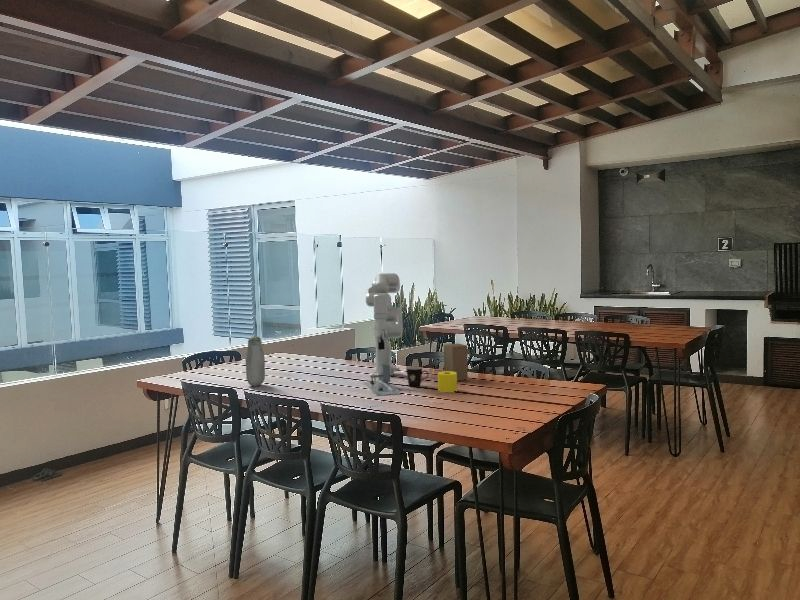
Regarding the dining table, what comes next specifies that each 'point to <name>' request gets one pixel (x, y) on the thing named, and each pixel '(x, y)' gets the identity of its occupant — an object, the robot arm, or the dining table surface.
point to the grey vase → (255, 362)
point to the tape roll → (447, 381)
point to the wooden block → (456, 360)
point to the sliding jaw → (384, 373)
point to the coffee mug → (415, 376)
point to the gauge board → (381, 387)
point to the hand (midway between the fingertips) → (381, 349)
